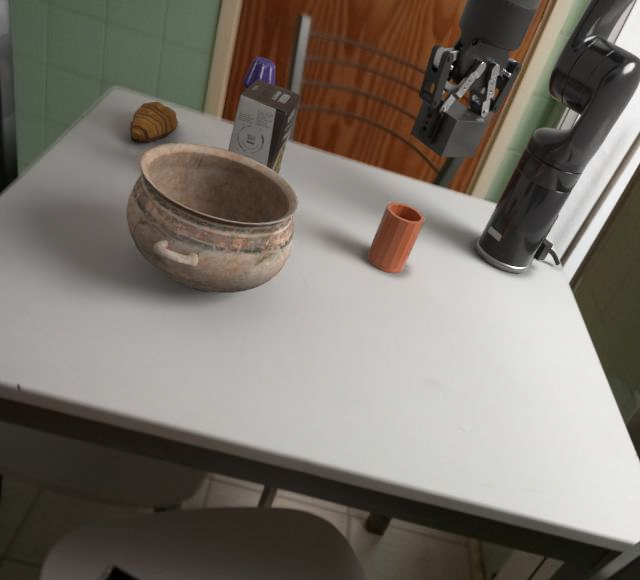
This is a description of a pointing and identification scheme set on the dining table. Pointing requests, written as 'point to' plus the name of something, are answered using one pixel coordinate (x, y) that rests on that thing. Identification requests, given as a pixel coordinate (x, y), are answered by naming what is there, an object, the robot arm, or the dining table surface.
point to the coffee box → (264, 123)
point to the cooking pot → (211, 217)
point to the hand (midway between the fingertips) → (443, 141)
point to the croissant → (152, 123)
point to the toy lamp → (260, 72)
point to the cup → (395, 237)
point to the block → (454, 131)
